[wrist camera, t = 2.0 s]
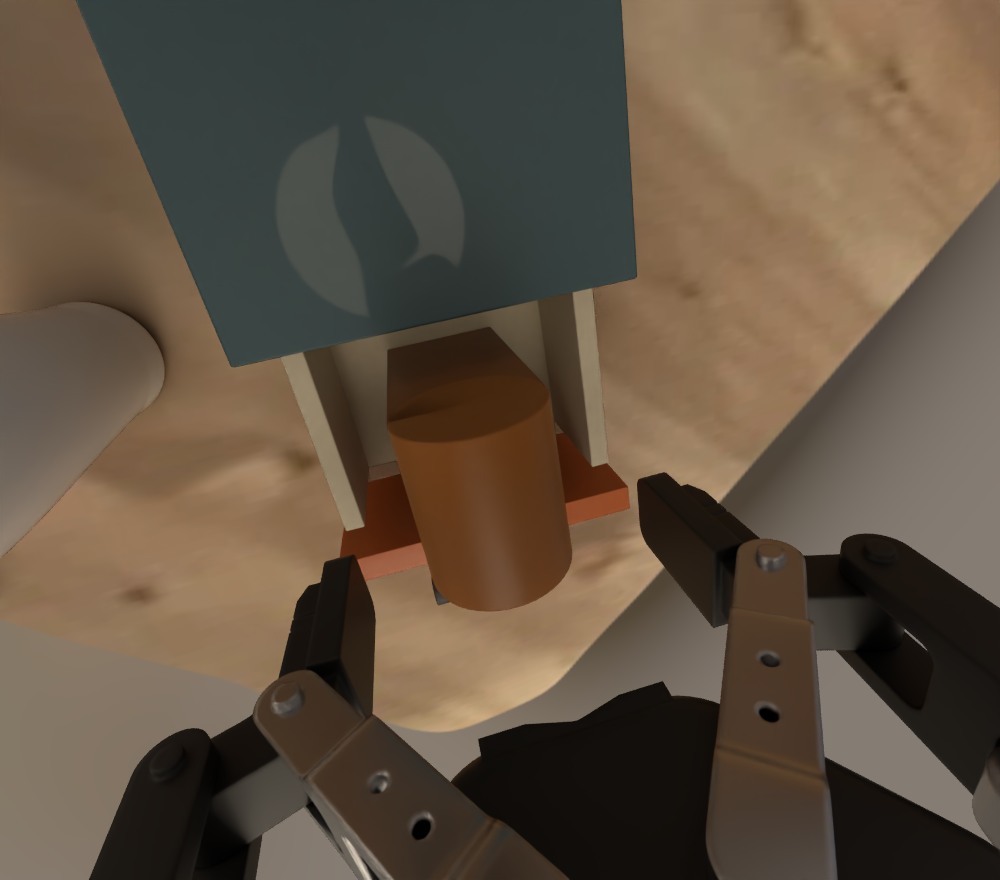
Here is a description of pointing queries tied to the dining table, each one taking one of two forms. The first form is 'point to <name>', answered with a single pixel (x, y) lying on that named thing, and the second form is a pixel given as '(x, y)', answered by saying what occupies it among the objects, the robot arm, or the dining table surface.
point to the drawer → (366, 442)
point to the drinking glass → (65, 401)
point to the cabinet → (377, 156)
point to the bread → (479, 469)
